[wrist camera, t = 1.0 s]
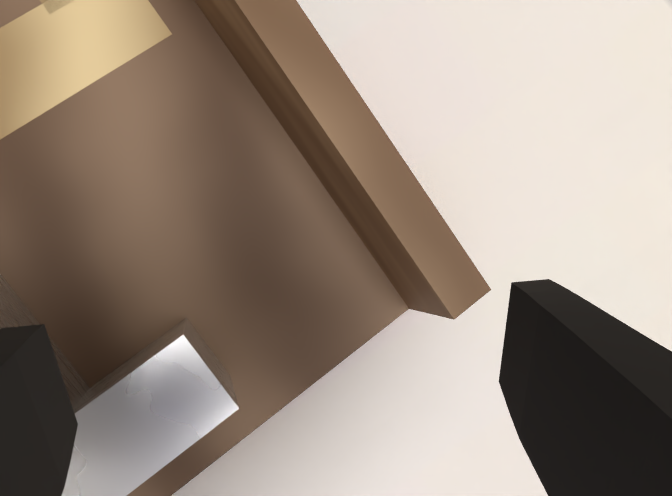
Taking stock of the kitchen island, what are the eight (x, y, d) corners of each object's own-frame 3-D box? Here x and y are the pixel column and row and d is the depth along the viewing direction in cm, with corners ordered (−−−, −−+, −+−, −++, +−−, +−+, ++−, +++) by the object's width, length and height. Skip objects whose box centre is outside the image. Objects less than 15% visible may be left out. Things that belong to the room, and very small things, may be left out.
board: (-40, 650, 19) (-53, 671, 18) (-570, 45, 17) (-618, 32, 16) (430, 283, 23) (440, 284, 22) (58, -258, 21) (51, -284, 20)
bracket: (-181, 190, 18) (-303, 169, 14) (7, 79, 19) (-50, 26, 15) (70, 497, 19) (33, 567, 15) (230, 376, 21) (239, 408, 16)
